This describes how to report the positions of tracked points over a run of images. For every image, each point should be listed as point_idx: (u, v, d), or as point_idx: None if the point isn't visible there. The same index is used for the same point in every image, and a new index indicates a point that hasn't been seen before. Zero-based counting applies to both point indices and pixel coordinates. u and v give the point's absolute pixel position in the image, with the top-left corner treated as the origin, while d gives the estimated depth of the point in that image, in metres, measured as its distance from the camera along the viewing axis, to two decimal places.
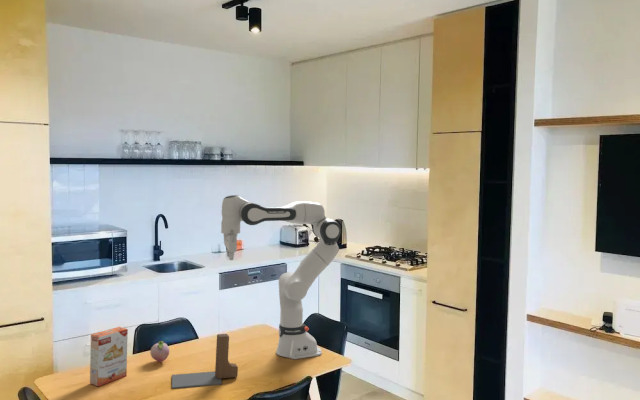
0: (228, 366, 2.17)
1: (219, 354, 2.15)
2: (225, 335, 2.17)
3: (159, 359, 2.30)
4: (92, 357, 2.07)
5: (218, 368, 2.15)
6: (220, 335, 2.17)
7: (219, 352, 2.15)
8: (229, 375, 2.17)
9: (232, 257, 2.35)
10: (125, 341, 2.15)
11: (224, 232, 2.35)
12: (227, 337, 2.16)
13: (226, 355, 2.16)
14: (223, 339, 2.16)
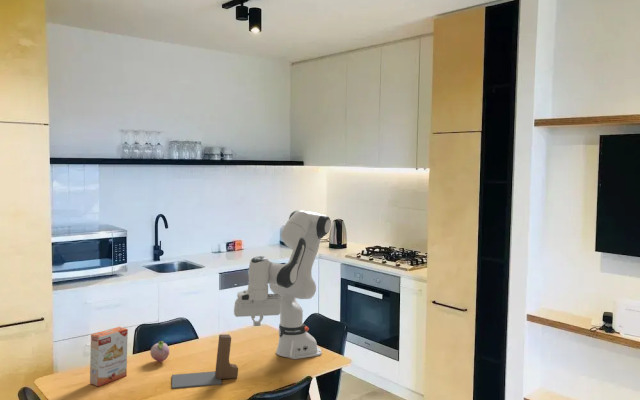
0: (229, 367, 2.17)
1: (220, 355, 2.15)
2: (227, 336, 2.17)
3: (159, 359, 2.30)
4: (92, 357, 2.07)
5: (219, 368, 2.15)
6: (222, 336, 2.17)
7: (220, 353, 2.15)
8: (229, 376, 2.17)
9: None
10: (125, 341, 2.16)
11: (265, 298, 2.18)
12: (229, 338, 2.16)
13: (227, 356, 2.16)
14: (225, 340, 2.15)
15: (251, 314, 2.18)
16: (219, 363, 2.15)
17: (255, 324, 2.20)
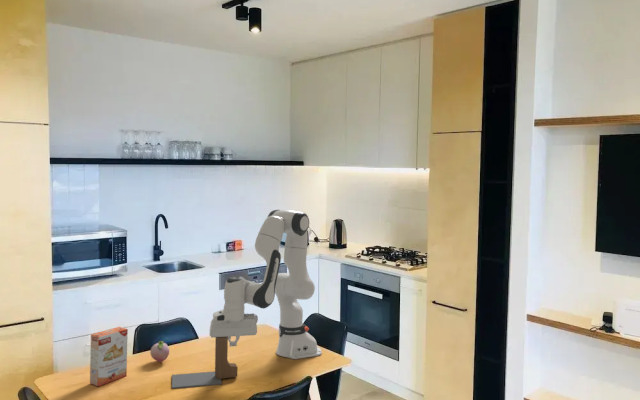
0: (228, 366, 2.16)
1: (218, 355, 2.15)
2: None
3: (159, 359, 2.30)
4: (92, 357, 2.07)
5: (218, 369, 2.15)
6: None
7: (218, 353, 2.15)
8: (229, 375, 2.17)
9: None
10: (125, 341, 2.16)
11: (241, 318, 2.16)
12: (226, 338, 2.15)
13: (225, 356, 2.16)
14: (222, 340, 2.15)
15: (227, 335, 2.16)
16: (218, 363, 2.15)
17: (231, 344, 2.17)
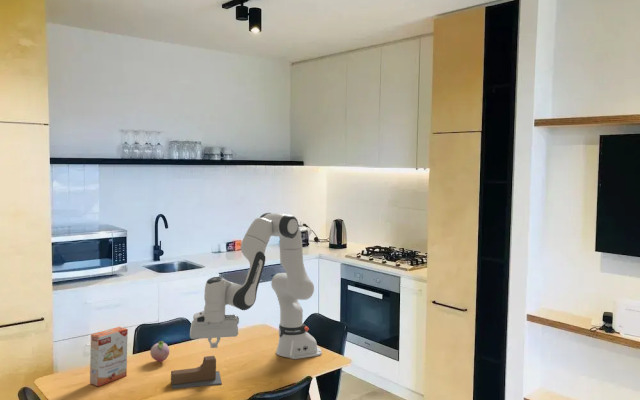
0: (204, 370, 2.13)
1: (190, 381, 2.11)
2: (171, 376, 2.09)
3: (159, 359, 2.30)
4: (92, 357, 2.07)
5: (205, 379, 2.13)
6: (171, 380, 2.10)
7: (188, 381, 2.11)
8: (213, 367, 2.14)
9: None
10: (125, 341, 2.16)
11: (222, 319, 2.13)
12: (173, 376, 2.08)
13: (192, 374, 2.11)
14: (175, 380, 2.08)
15: (207, 336, 2.13)
16: (199, 380, 2.12)
17: (212, 346, 2.15)
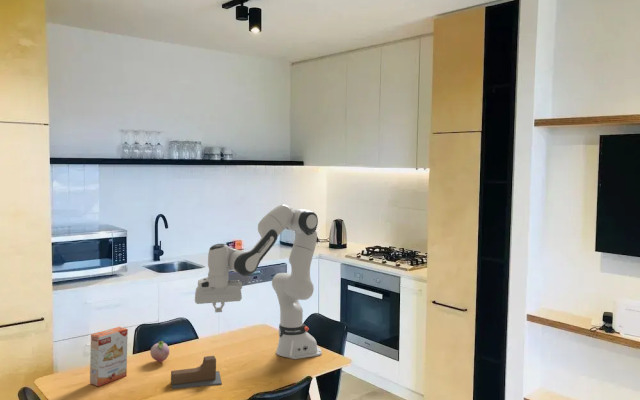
0: (204, 370, 2.13)
1: (190, 381, 2.11)
2: (171, 376, 2.09)
3: (159, 359, 2.30)
4: (92, 357, 2.07)
5: (205, 379, 2.13)
6: (171, 380, 2.10)
7: (188, 381, 2.11)
8: (213, 367, 2.14)
9: (221, 308, 2.24)
10: (125, 341, 2.16)
11: (225, 284, 2.20)
12: (173, 376, 2.08)
13: (192, 374, 2.11)
14: (175, 380, 2.08)
15: (212, 301, 2.20)
16: (199, 380, 2.12)
17: (216, 310, 2.22)
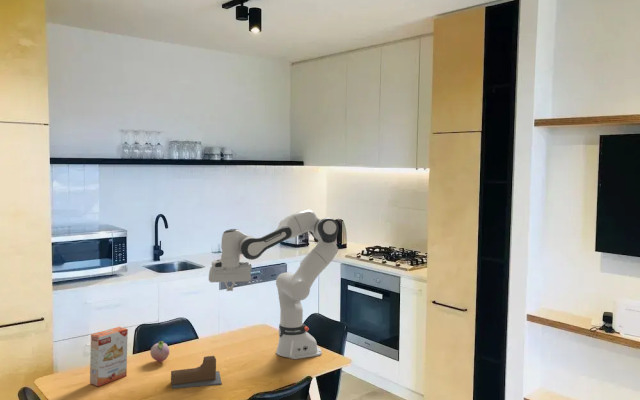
0: (204, 370, 2.13)
1: (190, 381, 2.11)
2: (171, 376, 2.09)
3: (159, 359, 2.30)
4: (92, 357, 2.07)
5: (205, 379, 2.13)
6: (171, 380, 2.10)
7: (188, 381, 2.11)
8: (213, 367, 2.14)
9: None
10: (125, 341, 2.16)
11: (237, 265, 2.43)
12: (173, 376, 2.08)
13: (192, 374, 2.11)
14: (175, 380, 2.08)
15: (224, 280, 2.43)
16: (199, 380, 2.12)
17: (228, 289, 2.45)
